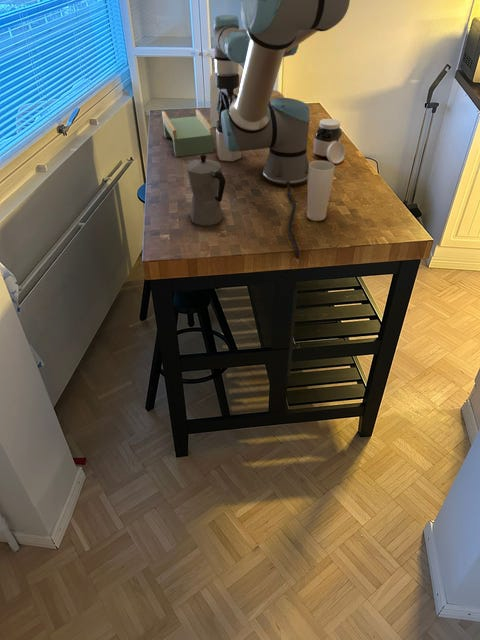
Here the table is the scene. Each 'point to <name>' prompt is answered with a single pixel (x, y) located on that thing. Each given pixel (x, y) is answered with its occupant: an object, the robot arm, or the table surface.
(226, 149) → the jar
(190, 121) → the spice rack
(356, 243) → the table surface
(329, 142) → the spread jar
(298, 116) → the robot arm
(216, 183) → the coffeepot
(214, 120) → the milk
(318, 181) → the drinking glass
